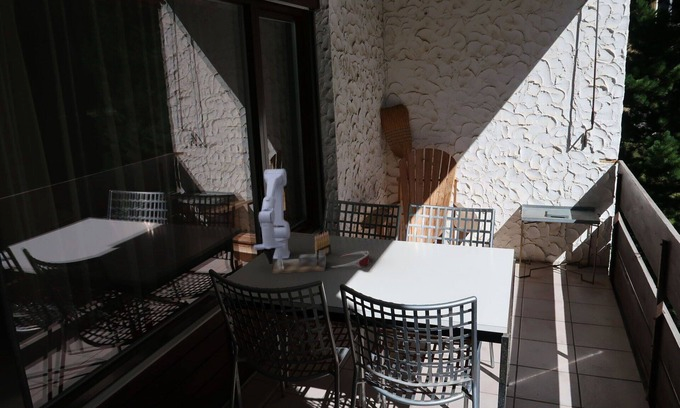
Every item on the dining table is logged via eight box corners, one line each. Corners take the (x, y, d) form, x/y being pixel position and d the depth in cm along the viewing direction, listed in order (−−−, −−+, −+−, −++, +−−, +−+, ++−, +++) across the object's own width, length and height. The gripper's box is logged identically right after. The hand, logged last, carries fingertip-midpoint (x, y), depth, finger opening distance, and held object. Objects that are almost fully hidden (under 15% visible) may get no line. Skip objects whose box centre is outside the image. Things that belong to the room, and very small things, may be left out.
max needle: (281, 269, 256) (281, 259, 255) (282, 268, 257) (281, 259, 256) (283, 269, 256) (282, 259, 255) (283, 268, 257) (283, 258, 256)
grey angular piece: (277, 269, 255) (276, 261, 254) (279, 263, 264) (278, 255, 263) (298, 268, 255) (297, 260, 254) (299, 262, 264) (298, 254, 263)
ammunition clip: (317, 260, 270) (316, 236, 267) (314, 259, 271) (313, 235, 268) (331, 253, 278) (329, 230, 275) (328, 253, 279) (326, 230, 276)
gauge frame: (272, 273, 255) (271, 261, 254) (275, 264, 267) (274, 252, 265) (325, 270, 255) (325, 257, 254) (326, 261, 267) (325, 249, 265)
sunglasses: (365, 270, 252) (362, 260, 252) (331, 274, 259) (328, 264, 258) (375, 257, 268) (372, 248, 267) (342, 261, 274) (340, 252, 274)
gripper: (251, 239, 253) (254, 267, 256) (283, 237, 253) (285, 265, 256) (253, 234, 260) (256, 262, 263) (284, 232, 260) (287, 260, 263)
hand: (271, 263), depth 260 cm, fingers closed
